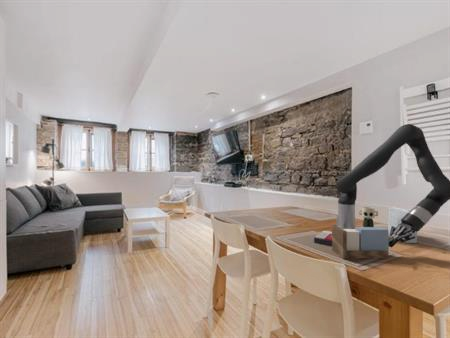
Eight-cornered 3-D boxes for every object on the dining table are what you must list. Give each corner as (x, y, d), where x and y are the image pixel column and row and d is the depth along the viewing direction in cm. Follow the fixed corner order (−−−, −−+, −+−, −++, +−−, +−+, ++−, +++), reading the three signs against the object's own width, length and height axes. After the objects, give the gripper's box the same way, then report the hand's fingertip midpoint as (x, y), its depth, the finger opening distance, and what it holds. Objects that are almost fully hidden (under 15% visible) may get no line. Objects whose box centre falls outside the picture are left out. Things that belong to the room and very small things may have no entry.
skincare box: (418, 243, 123) (418, 213, 123) (406, 243, 124) (406, 212, 124) (397, 233, 144) (397, 206, 144) (387, 232, 145) (387, 206, 145)
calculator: (313, 236, 125) (323, 229, 136) (313, 244, 125) (323, 236, 136) (335, 240, 118) (344, 232, 129) (336, 249, 118) (344, 240, 129)
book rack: (374, 250, 113) (374, 225, 113) (389, 259, 102) (389, 231, 102) (332, 250, 113) (332, 225, 113) (343, 259, 102) (343, 231, 102)
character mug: (358, 227, 156) (358, 208, 156) (358, 225, 162) (358, 206, 162) (378, 229, 151) (378, 209, 151) (377, 227, 157) (377, 207, 157)
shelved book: (354, 252, 110) (354, 229, 110) (359, 256, 105) (359, 231, 105) (339, 252, 110) (339, 228, 110) (343, 256, 105) (343, 231, 105)
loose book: (382, 253, 109) (382, 227, 109) (388, 257, 105) (388, 229, 105) (355, 253, 110) (355, 227, 110) (360, 256, 105) (360, 229, 105)
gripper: (399, 210, 113) (373, 235, 114) (422, 215, 100) (392, 244, 100) (411, 221, 113) (385, 246, 114) (435, 228, 100) (405, 257, 100)
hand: (388, 245), depth 107 cm, fingers closed
